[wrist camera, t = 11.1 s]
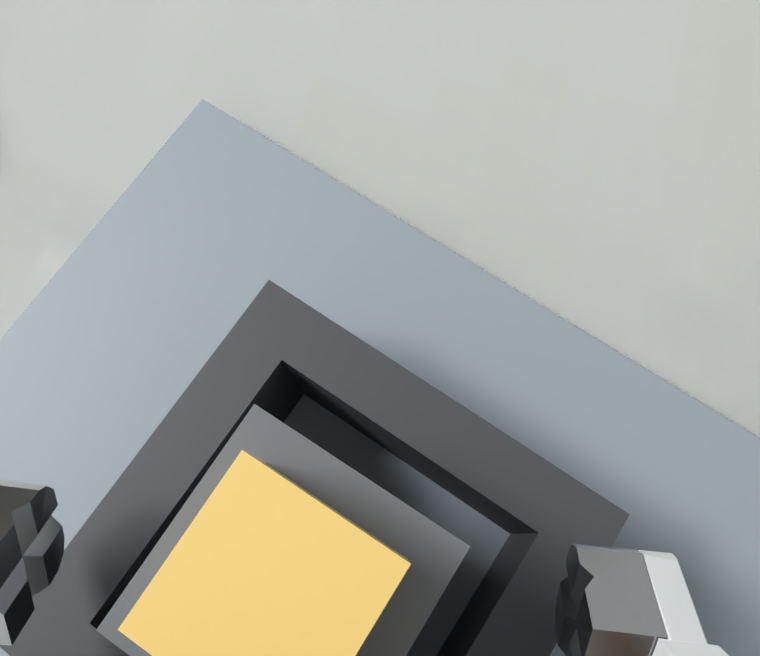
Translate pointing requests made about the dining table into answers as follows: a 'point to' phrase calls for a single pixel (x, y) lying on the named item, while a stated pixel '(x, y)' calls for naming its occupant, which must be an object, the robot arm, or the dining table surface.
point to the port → (352, 401)
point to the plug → (285, 560)
